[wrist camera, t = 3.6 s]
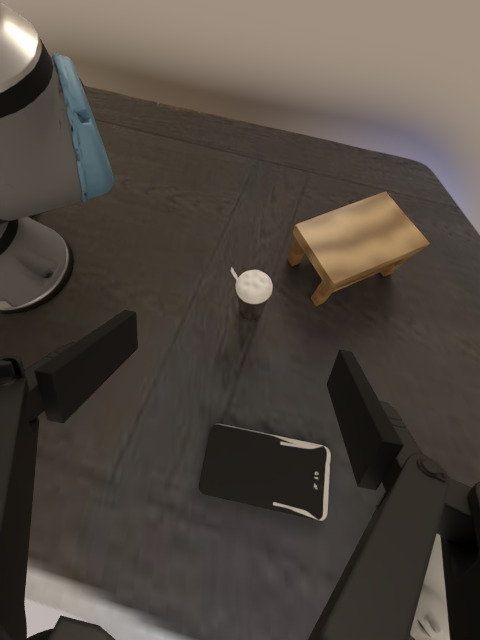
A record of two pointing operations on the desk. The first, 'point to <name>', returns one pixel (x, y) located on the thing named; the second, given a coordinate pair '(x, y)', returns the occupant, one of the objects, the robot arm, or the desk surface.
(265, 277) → the milkshake
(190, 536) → the desk surface
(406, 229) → the stool
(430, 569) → the round bodied animal figurine
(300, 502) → the smartphone
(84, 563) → the desk surface
